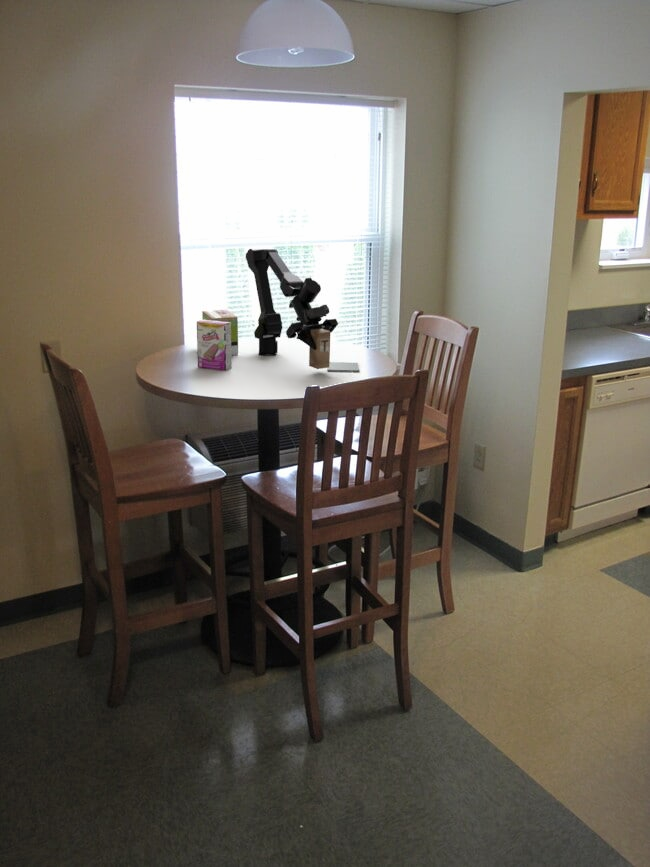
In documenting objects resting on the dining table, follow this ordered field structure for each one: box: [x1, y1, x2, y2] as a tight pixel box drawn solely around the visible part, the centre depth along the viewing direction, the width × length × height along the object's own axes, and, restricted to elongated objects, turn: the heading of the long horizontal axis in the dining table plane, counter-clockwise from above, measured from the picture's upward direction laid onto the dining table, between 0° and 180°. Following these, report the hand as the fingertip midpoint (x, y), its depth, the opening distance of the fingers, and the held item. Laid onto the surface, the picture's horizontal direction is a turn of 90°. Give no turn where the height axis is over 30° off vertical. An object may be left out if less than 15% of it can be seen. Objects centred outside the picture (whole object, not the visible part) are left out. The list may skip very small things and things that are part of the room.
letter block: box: [308, 329, 331, 370], centre depth 260 cm, size 6×5×12 cm
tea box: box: [201, 309, 239, 356], centre depth 288 cm, size 15×10×15 cm, turn 23°
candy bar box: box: [196, 319, 233, 372], centre depth 264 cm, size 11×5×16 cm, turn 71°
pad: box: [327, 361, 360, 373], centre depth 271 cm, size 11×11×1 cm
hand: (322, 348), depth 259 cm, fingers closed on letter block, 5 cm apart
